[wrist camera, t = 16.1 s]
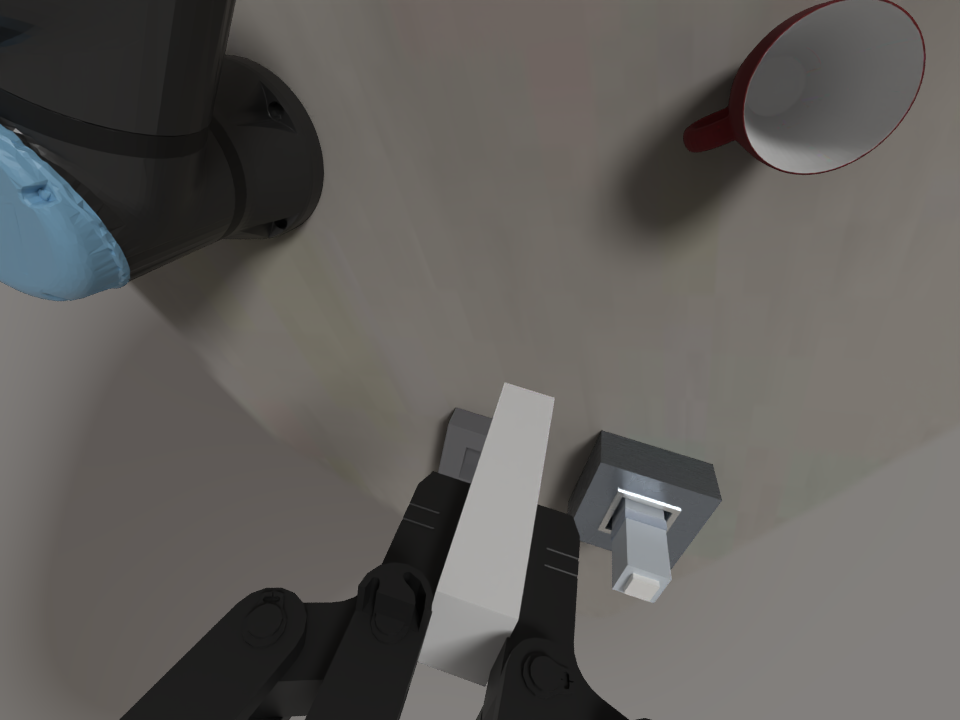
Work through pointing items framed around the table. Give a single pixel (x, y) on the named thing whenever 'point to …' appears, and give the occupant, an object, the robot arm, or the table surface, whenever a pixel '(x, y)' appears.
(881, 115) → the mug
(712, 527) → the table surface
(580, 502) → the port
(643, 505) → the plug
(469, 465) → the holster
